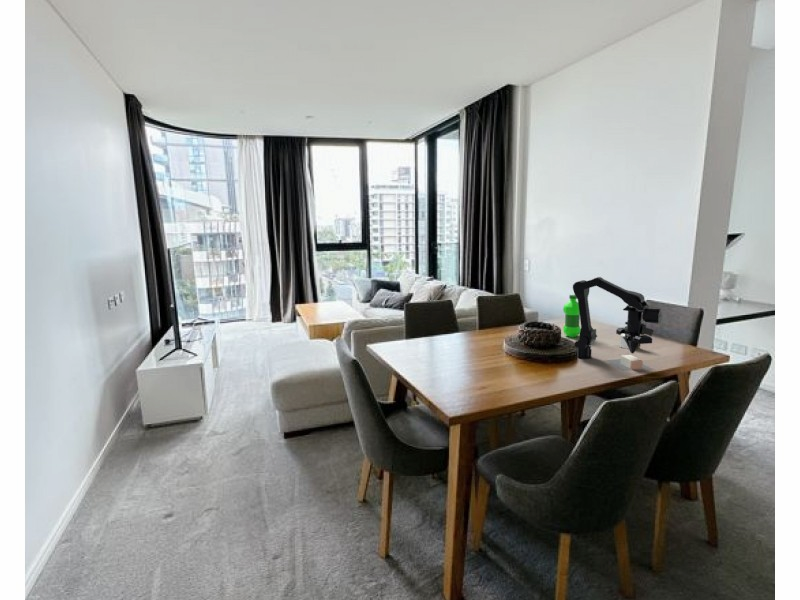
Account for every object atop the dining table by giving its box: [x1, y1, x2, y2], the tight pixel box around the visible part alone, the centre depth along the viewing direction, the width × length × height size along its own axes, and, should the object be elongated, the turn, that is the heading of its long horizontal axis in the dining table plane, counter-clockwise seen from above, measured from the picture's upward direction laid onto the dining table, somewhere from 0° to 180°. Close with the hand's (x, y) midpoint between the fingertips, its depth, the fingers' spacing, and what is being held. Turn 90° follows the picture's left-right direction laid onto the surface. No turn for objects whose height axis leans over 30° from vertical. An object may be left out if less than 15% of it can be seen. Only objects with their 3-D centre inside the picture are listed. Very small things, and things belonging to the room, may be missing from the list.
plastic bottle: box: [562, 294, 581, 338], centre depth 247 cm, size 10×10×25 cm
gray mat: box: [605, 358, 653, 371], centre depth 196 cm, size 14×15×1 cm
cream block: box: [620, 354, 644, 371], centre depth 193 cm, size 5×4×9 cm
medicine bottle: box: [619, 325, 641, 350], centre depth 221 cm, size 7×7×12 cm
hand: (632, 353), depth 192 cm, fingers closed
